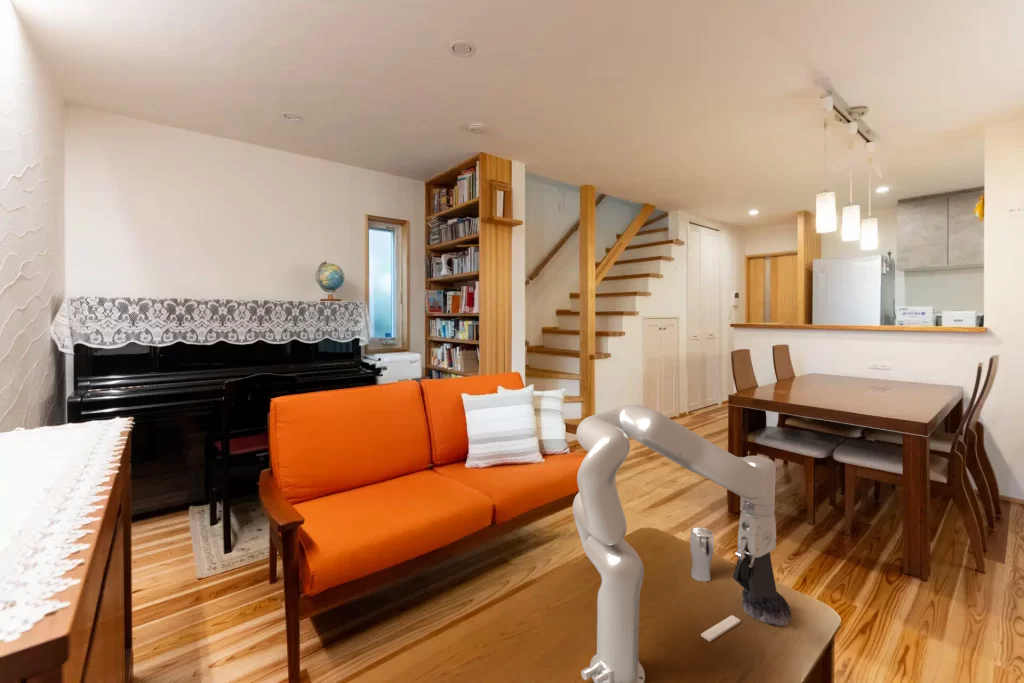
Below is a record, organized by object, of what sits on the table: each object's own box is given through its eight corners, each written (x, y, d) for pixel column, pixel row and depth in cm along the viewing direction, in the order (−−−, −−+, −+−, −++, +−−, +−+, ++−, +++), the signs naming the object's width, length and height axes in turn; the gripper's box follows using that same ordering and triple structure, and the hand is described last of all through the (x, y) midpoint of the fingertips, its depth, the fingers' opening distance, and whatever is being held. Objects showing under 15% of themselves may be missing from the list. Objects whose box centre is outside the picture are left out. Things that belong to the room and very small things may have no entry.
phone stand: (777, 597, 109) (779, 549, 108) (754, 598, 109) (755, 551, 108) (754, 576, 118) (755, 532, 117) (732, 577, 118) (734, 533, 117)
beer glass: (690, 580, 142) (691, 535, 142) (688, 568, 149) (689, 525, 148) (714, 584, 140) (715, 538, 139) (711, 572, 147) (712, 528, 146)
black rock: (770, 598, 135) (767, 565, 135) (806, 624, 122) (802, 588, 122) (730, 605, 133) (727, 572, 133) (762, 633, 120) (758, 596, 120)
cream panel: (709, 641, 116) (709, 639, 116) (700, 635, 118) (701, 633, 118) (740, 622, 123) (740, 620, 123) (731, 616, 125) (731, 614, 125)
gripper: (752, 520, 104) (750, 594, 105) (790, 504, 114) (787, 572, 115) (722, 508, 111) (720, 579, 112) (760, 494, 120) (758, 559, 121)
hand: (754, 575), depth 113 cm, fingers closed on phone stand, 6 cm apart
